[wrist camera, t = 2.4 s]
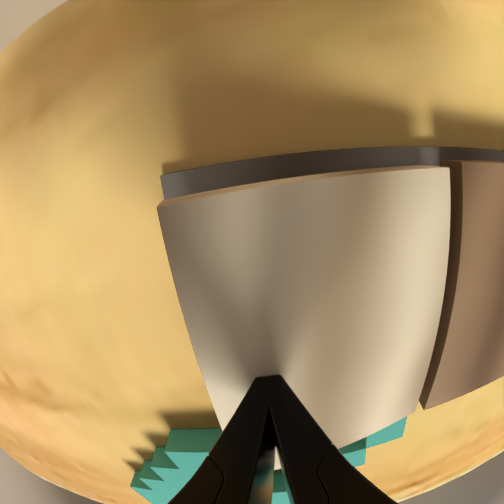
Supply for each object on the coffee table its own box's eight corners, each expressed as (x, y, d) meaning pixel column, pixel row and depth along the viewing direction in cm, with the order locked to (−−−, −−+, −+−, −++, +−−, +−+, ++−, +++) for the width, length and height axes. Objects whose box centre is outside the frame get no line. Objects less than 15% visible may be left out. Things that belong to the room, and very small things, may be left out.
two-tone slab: (551, 157, 8) (571, 160, 7) (522, 343, 12) (535, 356, 10) (163, 174, 10) (143, 179, 8) (226, 417, 14) (222, 442, 12)
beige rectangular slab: (427, 164, 9) (455, 167, 8) (405, 392, 13) (420, 407, 11) (162, 200, 8) (156, 207, 6) (236, 453, 11) (242, 478, 10)
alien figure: (394, 388, 13) (93, 419, 16) (407, 415, 11) (82, 441, 13) (373, 498, 19) (195, 516, 22) (376, 513, 17) (192, 530, 19)
